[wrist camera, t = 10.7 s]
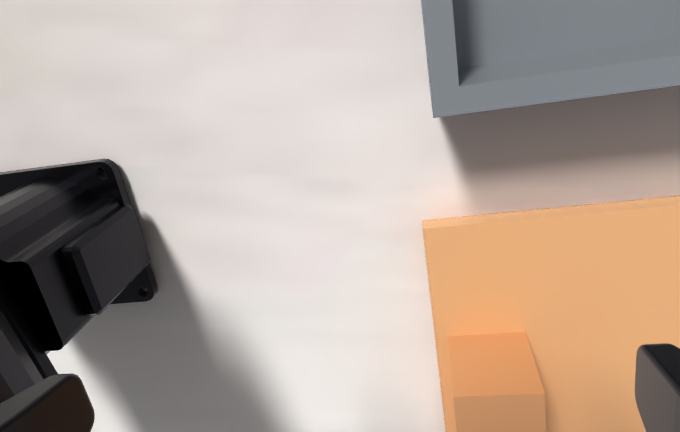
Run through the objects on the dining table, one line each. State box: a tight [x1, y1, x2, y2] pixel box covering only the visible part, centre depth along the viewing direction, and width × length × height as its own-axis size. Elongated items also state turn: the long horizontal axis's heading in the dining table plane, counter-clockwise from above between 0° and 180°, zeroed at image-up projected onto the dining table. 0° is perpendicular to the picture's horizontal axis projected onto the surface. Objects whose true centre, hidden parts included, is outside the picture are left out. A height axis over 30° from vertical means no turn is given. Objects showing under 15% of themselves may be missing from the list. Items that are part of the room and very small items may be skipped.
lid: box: [423, 196, 680, 432], centre depth 20 cm, size 15×15×5 cm
